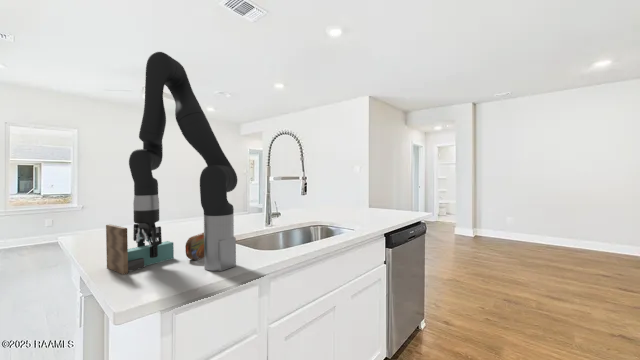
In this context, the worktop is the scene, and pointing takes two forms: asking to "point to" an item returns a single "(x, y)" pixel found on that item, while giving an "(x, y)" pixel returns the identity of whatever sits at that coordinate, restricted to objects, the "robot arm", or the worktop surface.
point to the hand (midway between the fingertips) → (147, 255)
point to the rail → (144, 252)
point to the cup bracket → (119, 251)
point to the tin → (195, 247)
